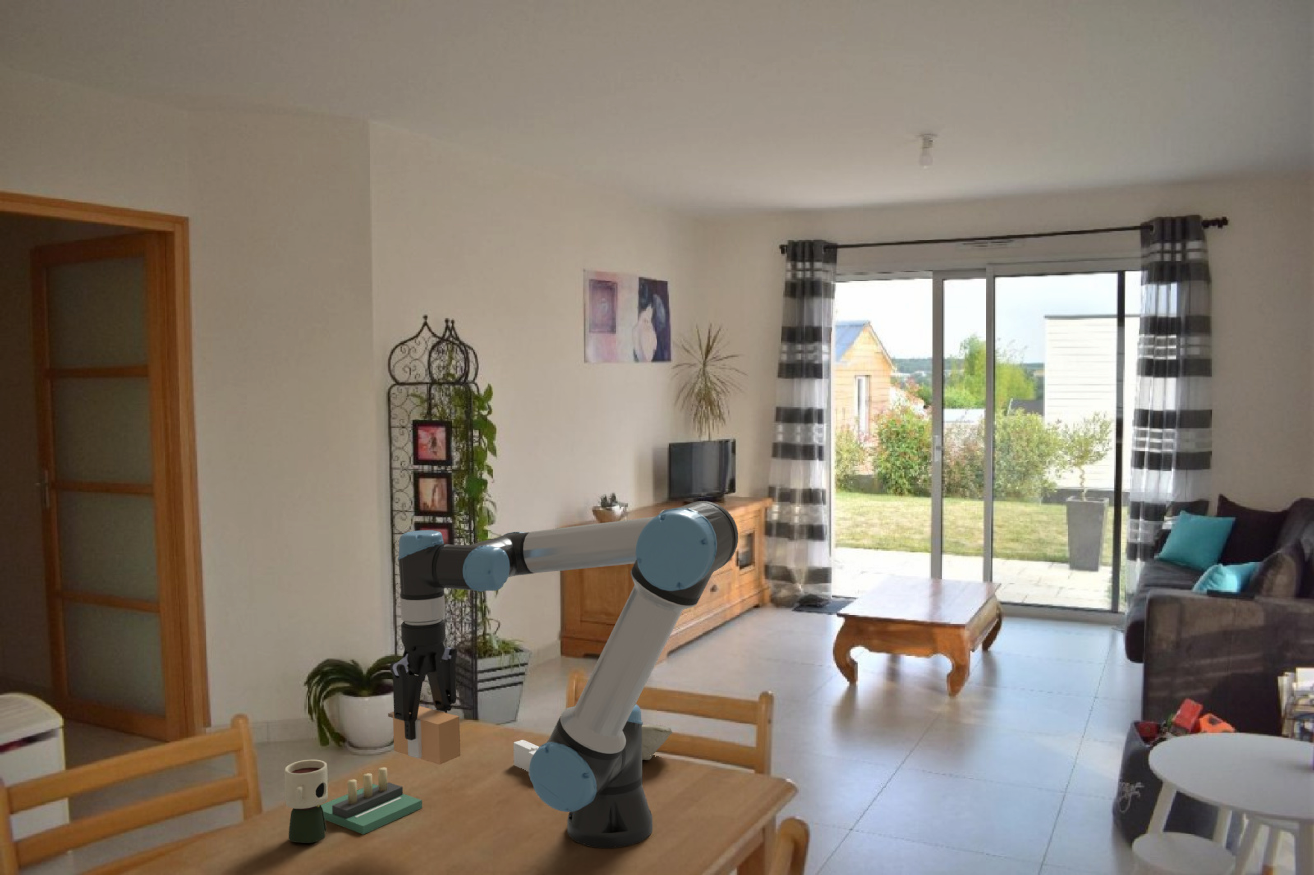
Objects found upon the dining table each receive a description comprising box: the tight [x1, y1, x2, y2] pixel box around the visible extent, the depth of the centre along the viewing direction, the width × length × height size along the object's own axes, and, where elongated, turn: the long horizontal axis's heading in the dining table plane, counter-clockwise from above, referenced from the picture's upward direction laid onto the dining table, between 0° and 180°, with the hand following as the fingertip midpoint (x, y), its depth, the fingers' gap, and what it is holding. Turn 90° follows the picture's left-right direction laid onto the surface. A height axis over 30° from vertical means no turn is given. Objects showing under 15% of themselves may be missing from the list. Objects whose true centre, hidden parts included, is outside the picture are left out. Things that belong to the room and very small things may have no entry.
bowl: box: [642, 723, 673, 761], centre depth 217 cm, size 15×14×10 cm
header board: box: [320, 766, 423, 835], centre depth 192 cm, size 14×14×7 cm
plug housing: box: [387, 705, 461, 765], centre depth 182 cm, size 5×15×7 cm, turn 55°
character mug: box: [283, 759, 329, 844], centre depth 181 cm, size 11×7×13 cm, turn 5°
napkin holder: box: [513, 739, 540, 777], centre depth 211 cm, size 15×11×6 cm
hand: (427, 751), depth 181 cm, fingers closed on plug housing, 5 cm apart
